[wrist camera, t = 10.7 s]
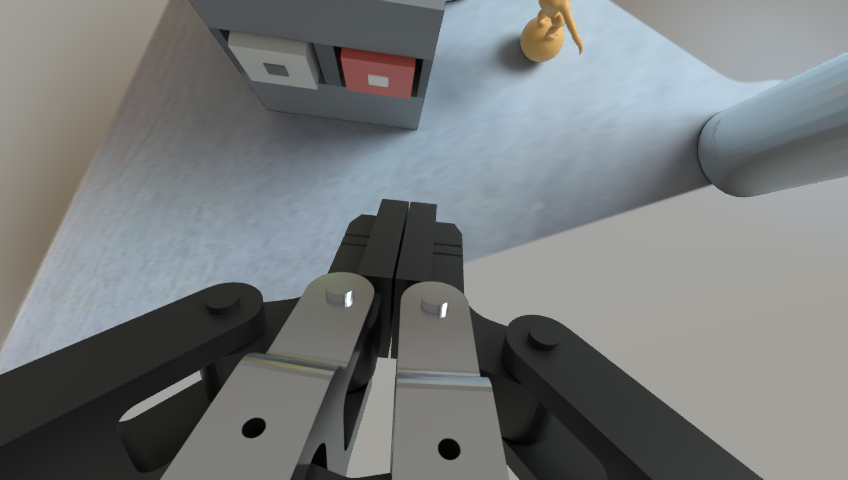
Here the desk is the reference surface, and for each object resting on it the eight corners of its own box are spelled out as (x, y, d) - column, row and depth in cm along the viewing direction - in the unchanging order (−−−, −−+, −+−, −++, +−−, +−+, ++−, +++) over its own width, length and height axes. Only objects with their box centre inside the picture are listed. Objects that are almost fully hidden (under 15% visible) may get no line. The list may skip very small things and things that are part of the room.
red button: (418, 25, 32) (424, -18, 28) (410, 100, 32) (414, 69, 27) (356, 15, 32) (351, -30, 27) (346, 91, 31) (340, 58, 27)
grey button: (327, 14, 32) (316, -32, 27) (317, 90, 31) (305, 57, 26) (262, 4, 31) (241, -44, 27) (251, 81, 31) (227, 46, 26)
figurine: (573, 75, 41) (649, -5, 30) (525, 105, 41) (583, 36, 29) (527, 6, 42) (584, -101, 30) (478, 35, 41) (517, -63, 29)
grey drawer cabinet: (425, 50, 40) (458, -130, 22) (417, 129, 39) (444, 10, 22) (275, 27, 39) (184, -181, 21) (264, 109, 38) (159, -35, 20)
